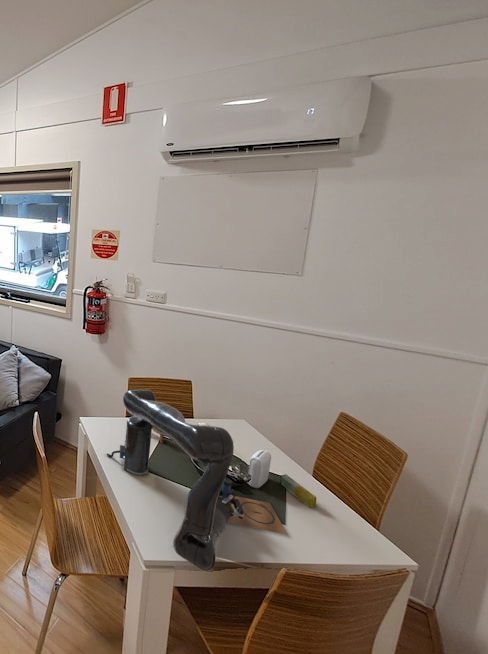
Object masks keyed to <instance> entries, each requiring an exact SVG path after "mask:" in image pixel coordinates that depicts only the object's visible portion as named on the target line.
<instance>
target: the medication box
mask: <svg viewBox="0 0 488 654" xmlns="http://www.w3.org/2000/svg"><path fill="white" fill-rule="evenodd" d="M280 485H281V486H283V487H284V488H285V489H286V490H287V491H289V492H290V493H291V494H292V495H293V496H294V497H296V498H297V499H298V500H299V501H300V502H302V503H303V504H304V505H306V506H307V507H308V508H309V509H314V508H316V507H317V498H318V497H317V496H316V495H314V494H313V493H312V492H310V491H309V490H308V489H306V488H305V487H304V486H303V485H301V484H300V483H298V482H297V481H296V480H295V479H293V478H292V477H291V476H289V475H288V474H281V475H280Z"/></svg>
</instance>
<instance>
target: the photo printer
mask: <svg viewBox="0 0 488 654" xmlns="http://www.w3.org/2000/svg"><path fill="white" fill-rule="evenodd" d="M271 461H272V455H271V453H270V452H269V451H268V450H266V449H260V450H258V451H256V452H255V453H253V455H252V456H251V457H250V459H249V466H248V472H247V475H248V474H250V475H251V476H252V477H251V480H250V481H249V482H247V481H246V483H247V484H248V485H249V486H250V487H252V488H255V489H259V488H261V487H262V486H263V485H264V484H266V482H267V481H268V480H269V477H270V468H271Z"/></svg>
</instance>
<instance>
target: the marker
mask: <svg viewBox="0 0 488 654" xmlns="http://www.w3.org/2000/svg"><path fill="white" fill-rule="evenodd" d="M232 484H233V481H232V479H230V478H228V477H225V480H224V483H223V485H222V493H221V498H223V499H225V498H226V497H228V496H229V494H230V492H231V490H232Z"/></svg>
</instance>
